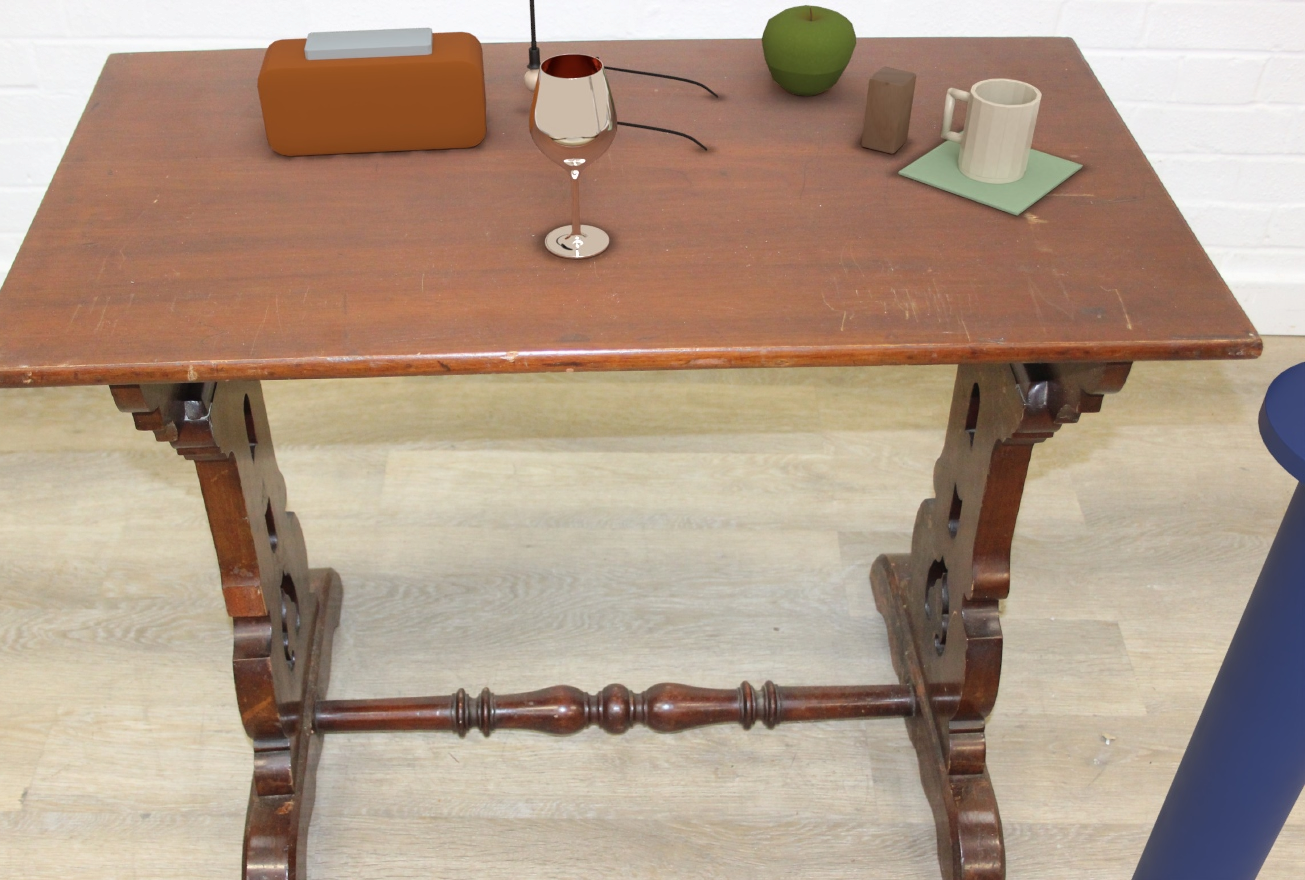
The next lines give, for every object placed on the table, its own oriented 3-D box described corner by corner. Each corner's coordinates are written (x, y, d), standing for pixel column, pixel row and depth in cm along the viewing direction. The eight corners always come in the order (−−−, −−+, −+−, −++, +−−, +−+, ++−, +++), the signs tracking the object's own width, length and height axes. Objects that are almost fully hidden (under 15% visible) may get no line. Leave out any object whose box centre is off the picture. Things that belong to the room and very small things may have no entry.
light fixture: (564, 119, 153) (556, -108, 137) (506, 120, 153) (492, -108, 137) (566, 95, 158) (559, -127, 142) (510, 95, 158) (497, -126, 142)
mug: (1037, 167, 142) (1053, 90, 136) (1004, 190, 138) (1020, 113, 132) (954, 140, 147) (967, 65, 141) (920, 162, 143) (932, 86, 138)
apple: (756, 107, 155) (761, 22, 148) (760, 71, 163) (766, -11, 156) (850, 111, 154) (860, 26, 147) (850, 75, 162) (859, -8, 155)
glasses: (593, 90, 159) (597, 50, 156) (715, 110, 158) (722, 70, 155) (572, 143, 148) (577, 101, 145) (704, 165, 148) (711, 123, 144)
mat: (1082, 167, 142) (1082, 165, 142) (1017, 215, 134) (1017, 213, 134) (966, 130, 149) (966, 127, 149) (898, 174, 142) (898, 171, 141)
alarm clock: (487, 116, 154) (480, 19, 147) (487, 148, 148) (480, 48, 141) (278, 125, 153) (261, 28, 146) (269, 158, 147) (251, 58, 139)
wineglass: (539, 266, 128) (530, 87, 116) (531, 225, 134) (522, 51, 123) (623, 260, 129) (623, 81, 117) (611, 219, 135) (610, 45, 123)
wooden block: (893, 155, 145) (903, 85, 140) (859, 147, 147) (868, 77, 141) (907, 141, 147) (918, 72, 142) (874, 133, 149) (883, 64, 144)
